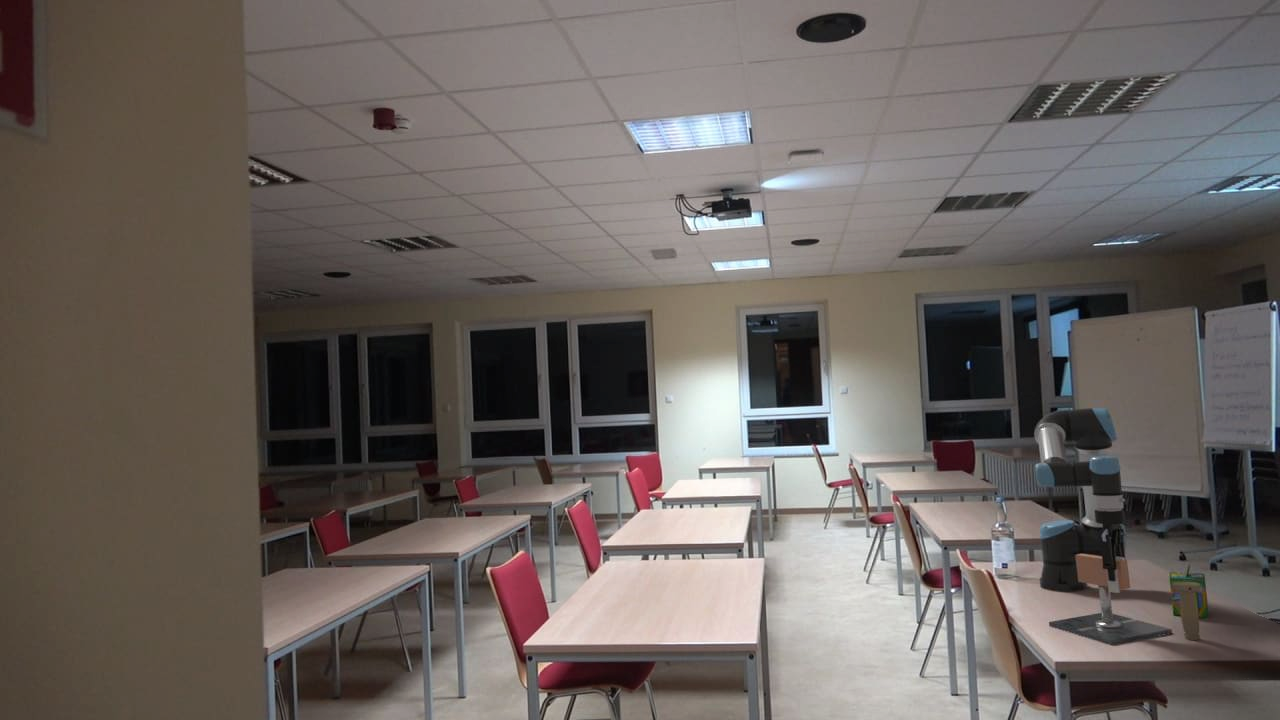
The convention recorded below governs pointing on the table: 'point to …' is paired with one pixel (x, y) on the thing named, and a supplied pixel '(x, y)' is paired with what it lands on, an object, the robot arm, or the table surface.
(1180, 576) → the chalk box
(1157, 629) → the post stand
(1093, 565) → the pink plank with tab
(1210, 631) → the table surface
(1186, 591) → the handle
